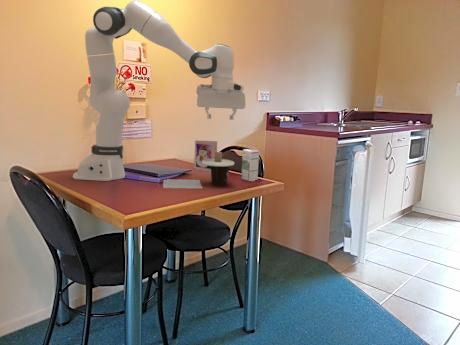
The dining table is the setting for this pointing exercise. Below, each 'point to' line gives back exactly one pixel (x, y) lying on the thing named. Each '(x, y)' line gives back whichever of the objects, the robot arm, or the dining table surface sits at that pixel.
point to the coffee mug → (219, 175)
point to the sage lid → (217, 161)
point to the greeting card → (204, 154)
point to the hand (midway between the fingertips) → (220, 119)
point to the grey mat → (181, 183)
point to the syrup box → (250, 165)
